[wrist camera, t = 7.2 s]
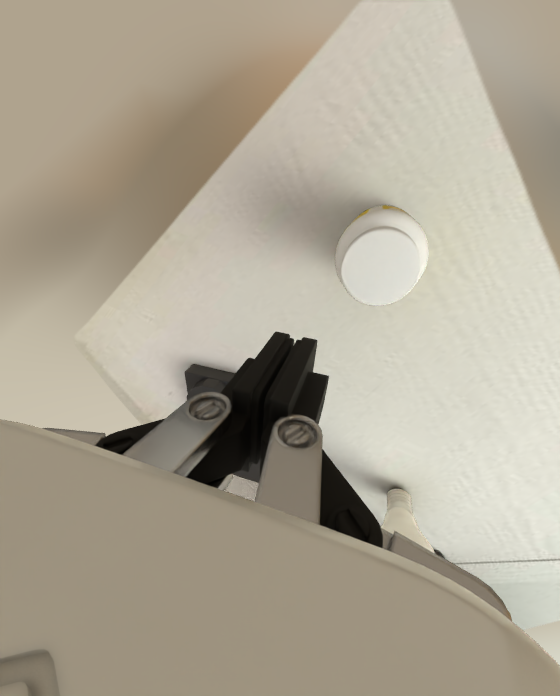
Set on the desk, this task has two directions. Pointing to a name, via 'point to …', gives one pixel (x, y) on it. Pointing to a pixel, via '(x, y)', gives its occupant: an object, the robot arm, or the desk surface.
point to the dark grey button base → (215, 381)
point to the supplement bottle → (381, 255)
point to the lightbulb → (403, 518)
